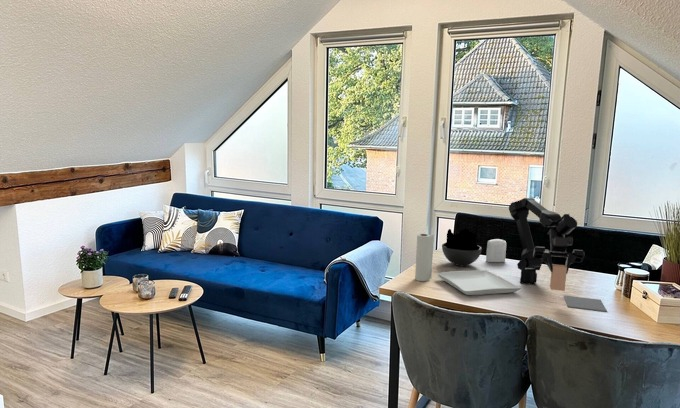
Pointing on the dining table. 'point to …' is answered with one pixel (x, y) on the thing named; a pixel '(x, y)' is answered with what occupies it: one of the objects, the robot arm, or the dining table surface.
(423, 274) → the paper towel roll
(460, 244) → the coal bowl
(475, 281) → the square plate
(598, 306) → the rubber mat
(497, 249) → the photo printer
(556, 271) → the terracotta block
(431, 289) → the dining table surface
